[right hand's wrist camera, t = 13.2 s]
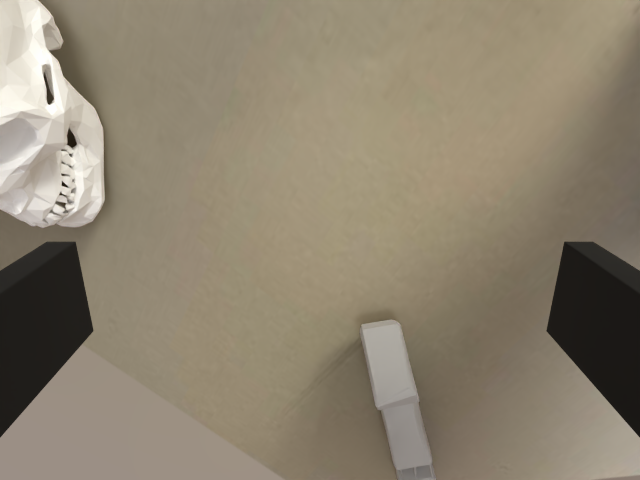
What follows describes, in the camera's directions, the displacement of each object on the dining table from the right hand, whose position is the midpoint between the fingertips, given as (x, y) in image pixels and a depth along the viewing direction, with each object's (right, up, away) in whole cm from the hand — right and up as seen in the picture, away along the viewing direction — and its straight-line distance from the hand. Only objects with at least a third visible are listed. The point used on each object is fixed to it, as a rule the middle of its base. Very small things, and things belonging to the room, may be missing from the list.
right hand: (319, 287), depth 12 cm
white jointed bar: (+8, -14, +32) cm, 36 cm away
